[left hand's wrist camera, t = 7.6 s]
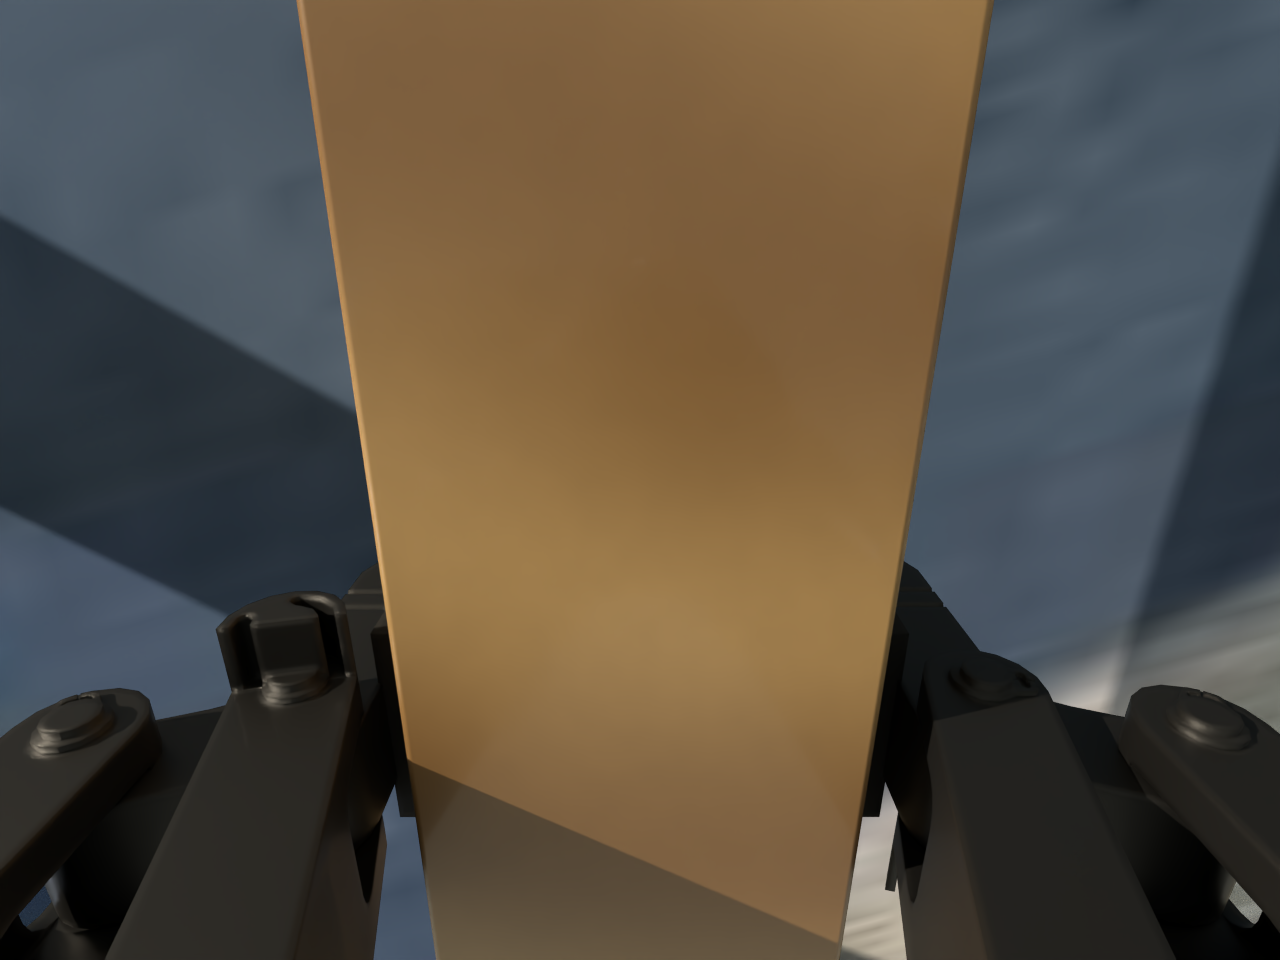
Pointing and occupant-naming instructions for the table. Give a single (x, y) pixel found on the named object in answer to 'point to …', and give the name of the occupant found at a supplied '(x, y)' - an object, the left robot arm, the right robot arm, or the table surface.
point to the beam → (641, 437)
